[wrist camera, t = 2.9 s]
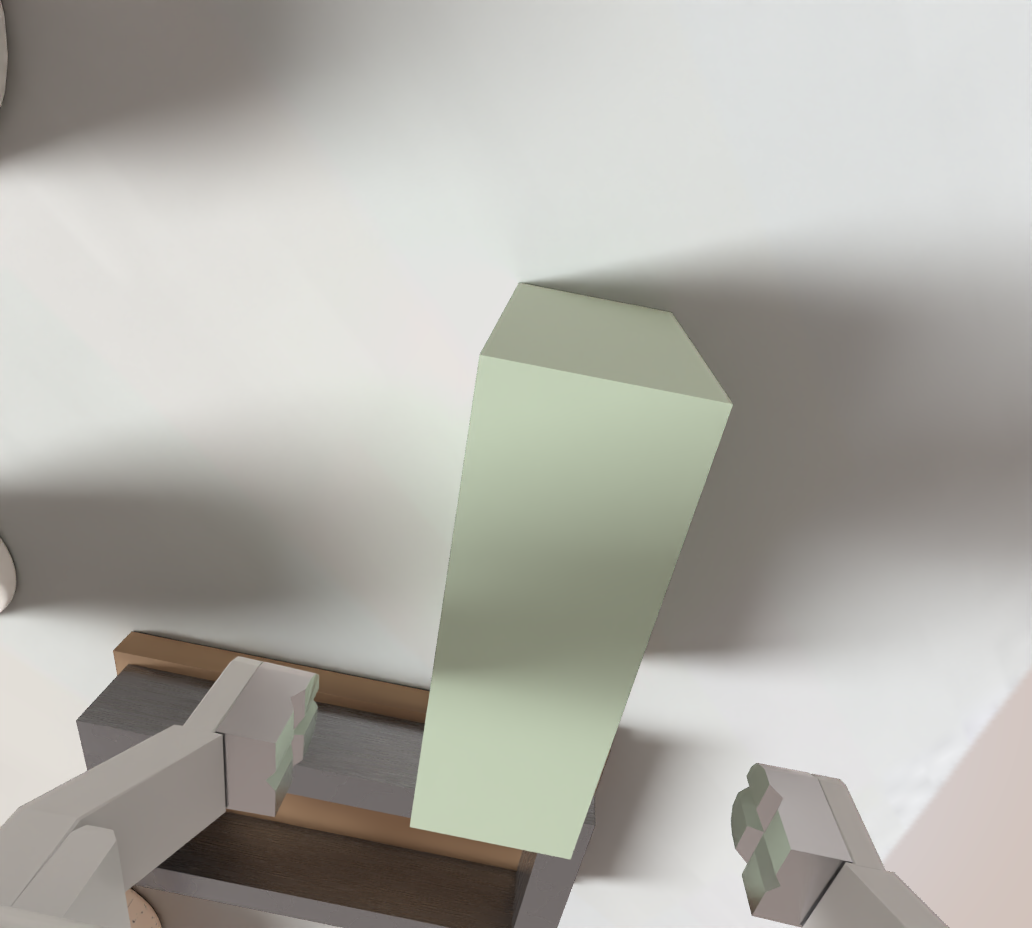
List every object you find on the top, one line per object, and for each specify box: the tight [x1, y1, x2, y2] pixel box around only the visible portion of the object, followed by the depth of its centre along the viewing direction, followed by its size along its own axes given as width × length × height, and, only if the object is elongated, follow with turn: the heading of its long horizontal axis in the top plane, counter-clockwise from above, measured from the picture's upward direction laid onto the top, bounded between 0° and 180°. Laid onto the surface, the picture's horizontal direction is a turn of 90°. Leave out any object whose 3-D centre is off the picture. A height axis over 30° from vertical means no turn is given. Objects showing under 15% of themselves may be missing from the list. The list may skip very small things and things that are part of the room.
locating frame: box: [76, 632, 610, 928], centre depth 23 cm, size 10×18×4 cm, turn 80°
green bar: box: [410, 283, 733, 859], centre depth 15 cm, size 12×4×7 cm, turn 170°
